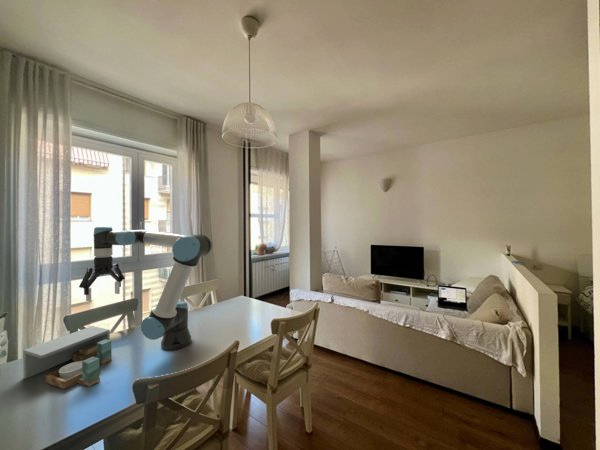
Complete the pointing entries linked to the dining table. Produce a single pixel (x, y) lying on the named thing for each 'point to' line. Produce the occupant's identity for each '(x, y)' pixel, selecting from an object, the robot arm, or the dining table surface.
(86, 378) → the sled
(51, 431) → the dining table surface
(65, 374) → the ramekin
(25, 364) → the shelf
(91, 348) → the oak cube
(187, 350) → the dining table surface
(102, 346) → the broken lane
